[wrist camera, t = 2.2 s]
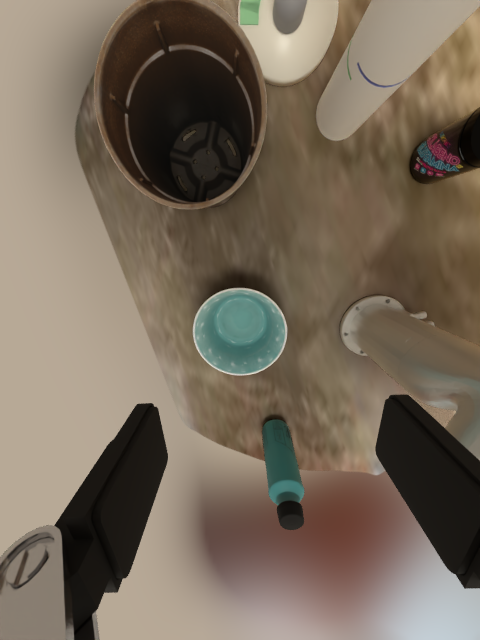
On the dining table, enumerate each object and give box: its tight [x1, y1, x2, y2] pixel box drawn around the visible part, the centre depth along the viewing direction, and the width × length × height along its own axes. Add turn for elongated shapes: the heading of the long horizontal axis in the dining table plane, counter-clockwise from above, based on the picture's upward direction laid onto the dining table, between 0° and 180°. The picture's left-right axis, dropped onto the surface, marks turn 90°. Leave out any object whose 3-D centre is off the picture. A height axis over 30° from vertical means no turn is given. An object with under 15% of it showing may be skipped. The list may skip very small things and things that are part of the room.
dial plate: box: [238, 0, 339, 87], centre depth 29 cm, size 13×13×2 cm
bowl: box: [193, 288, 287, 375], centre depth 41 cm, size 16×16×8 cm
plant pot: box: [94, 0, 267, 210], centre depth 28 cm, size 16×16×16 cm
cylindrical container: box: [316, 0, 480, 141], centre depth 21 cm, size 7×7×25 cm
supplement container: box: [411, 107, 480, 184], centre depth 30 cm, size 7×7×10 cm
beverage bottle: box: [262, 419, 304, 530], centre depth 44 cm, size 6×7×20 cm
